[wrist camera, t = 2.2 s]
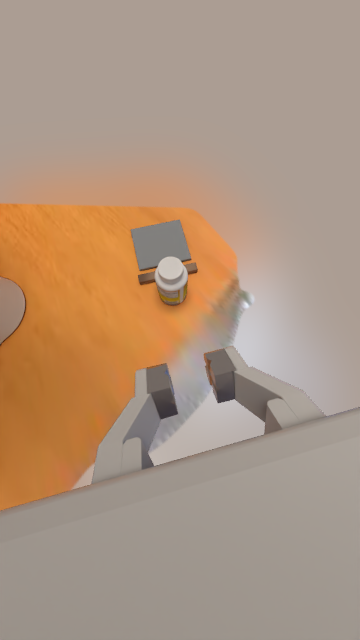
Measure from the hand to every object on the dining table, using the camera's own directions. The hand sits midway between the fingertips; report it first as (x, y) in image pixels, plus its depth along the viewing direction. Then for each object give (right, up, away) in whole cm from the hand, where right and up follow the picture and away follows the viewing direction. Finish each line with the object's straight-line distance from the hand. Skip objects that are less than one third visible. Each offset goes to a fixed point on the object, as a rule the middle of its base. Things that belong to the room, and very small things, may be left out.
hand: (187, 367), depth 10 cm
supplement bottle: (-2, +8, +31) cm, 32 cm away
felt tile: (-5, +19, +33) cm, 38 cm away
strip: (-3, +12, +31) cm, 34 cm away
